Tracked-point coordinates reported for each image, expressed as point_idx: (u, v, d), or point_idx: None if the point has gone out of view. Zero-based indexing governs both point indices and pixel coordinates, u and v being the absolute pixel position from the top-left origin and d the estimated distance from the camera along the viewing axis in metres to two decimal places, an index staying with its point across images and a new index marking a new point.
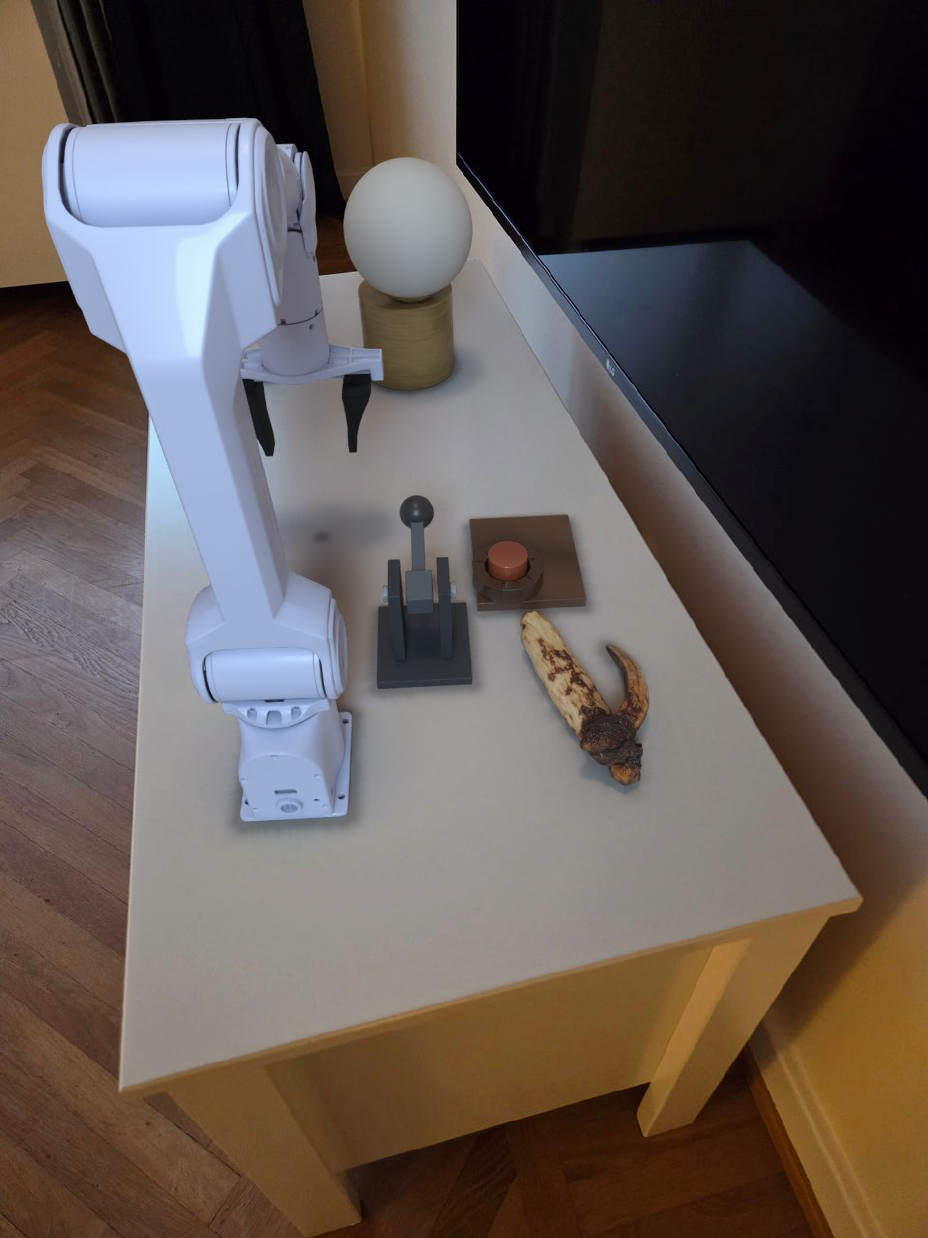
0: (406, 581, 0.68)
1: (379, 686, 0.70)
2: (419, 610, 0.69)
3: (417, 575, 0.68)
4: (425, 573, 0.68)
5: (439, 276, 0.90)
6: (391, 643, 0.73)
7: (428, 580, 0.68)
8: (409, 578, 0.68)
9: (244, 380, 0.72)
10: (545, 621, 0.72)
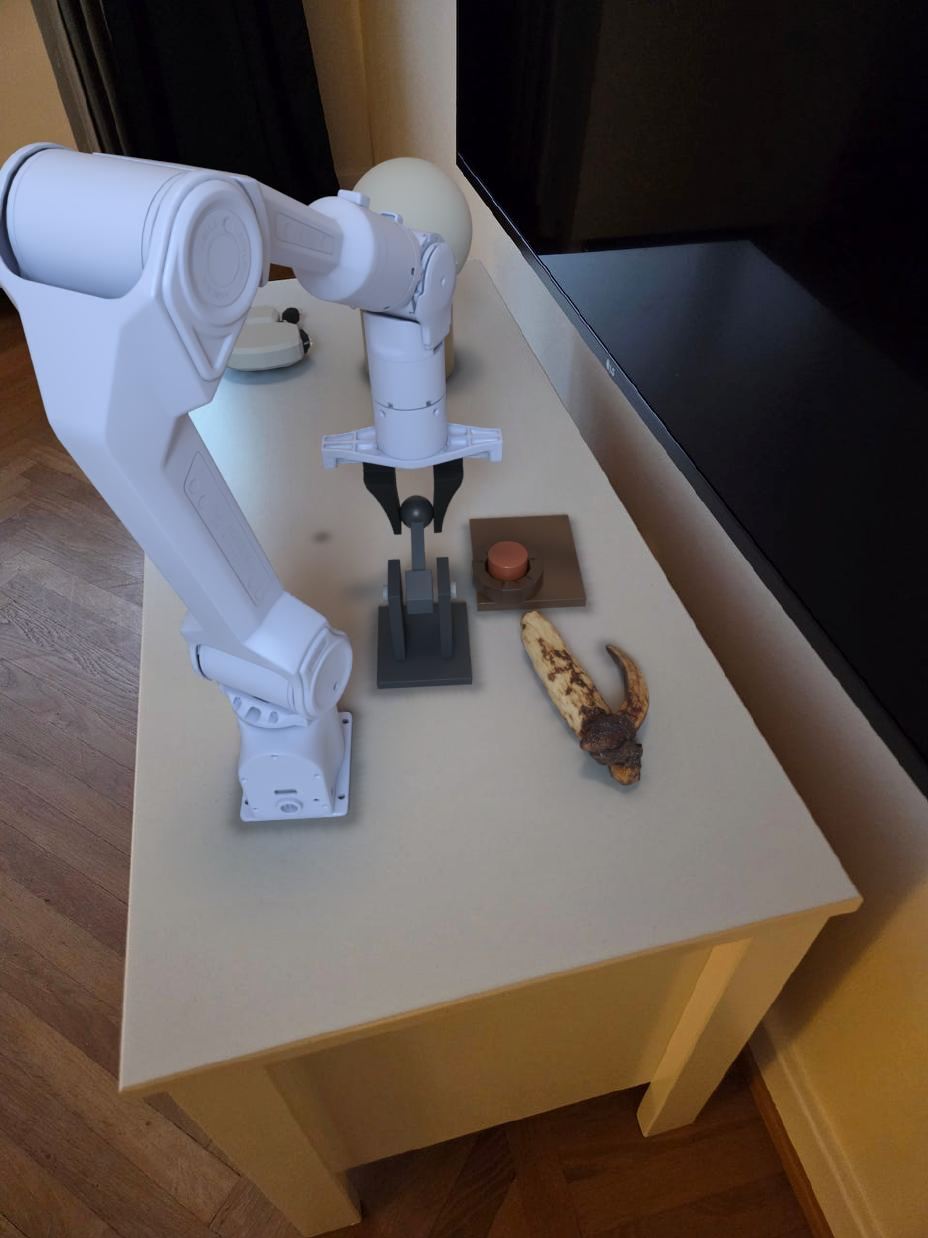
0: (406, 581, 0.68)
1: (379, 686, 0.70)
2: (419, 610, 0.69)
3: (417, 575, 0.68)
4: (425, 573, 0.68)
5: None
6: (391, 643, 0.73)
7: (428, 580, 0.68)
8: (409, 578, 0.68)
9: None
10: (545, 621, 0.72)
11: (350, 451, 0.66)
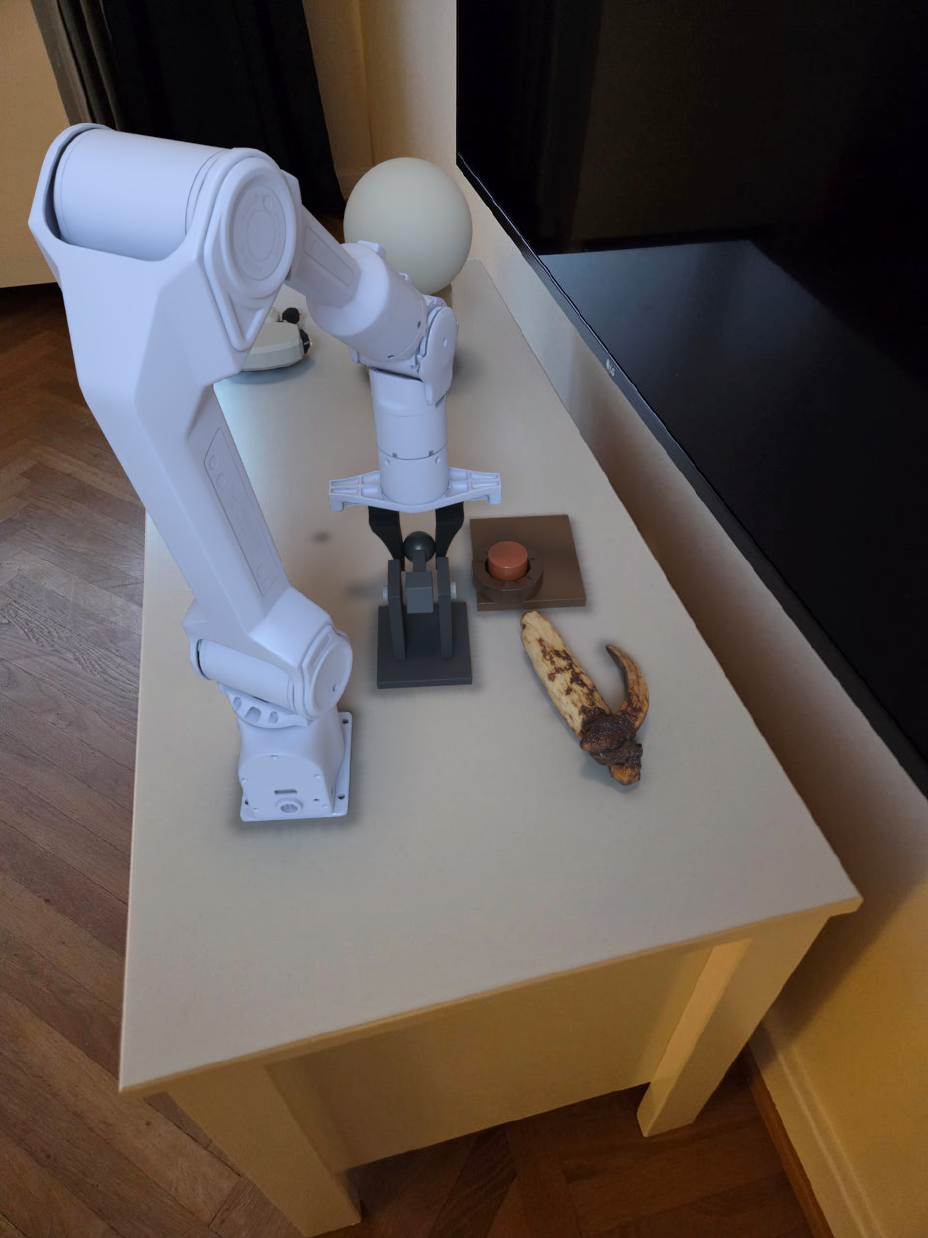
0: (406, 577, 0.69)
1: (379, 686, 0.70)
2: (419, 607, 0.68)
3: (417, 574, 0.69)
4: (425, 572, 0.69)
5: (439, 276, 0.90)
6: (391, 643, 0.73)
7: (428, 577, 0.69)
8: (409, 576, 0.69)
9: None
10: (545, 621, 0.72)
11: (356, 496, 0.69)
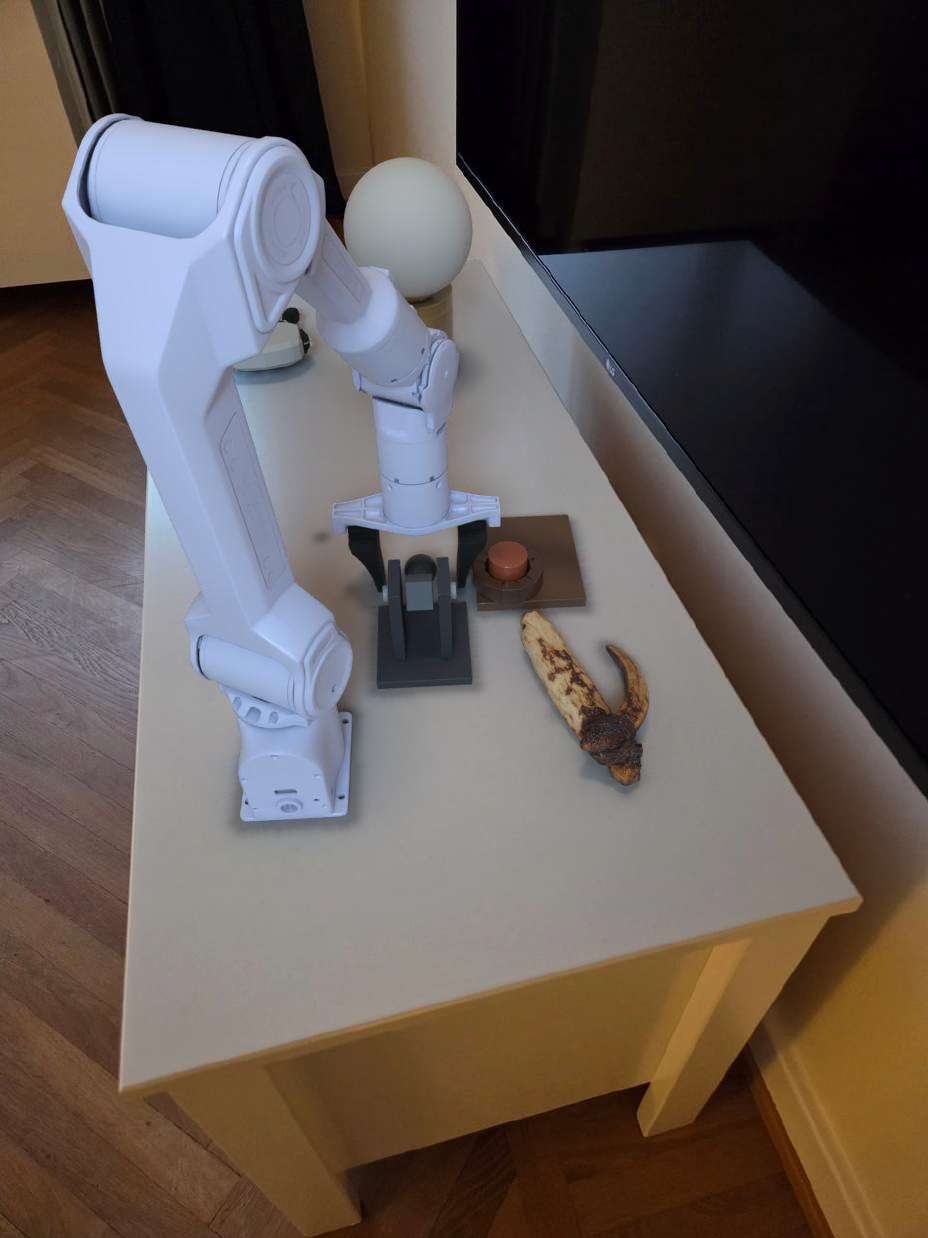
0: (406, 577, 0.69)
1: (379, 686, 0.70)
2: (418, 603, 0.68)
3: (417, 575, 0.69)
4: (425, 574, 0.70)
5: (439, 276, 0.90)
6: (391, 643, 0.73)
7: (428, 576, 0.69)
8: (409, 576, 0.69)
9: (365, 527, 0.73)
10: (545, 621, 0.72)
11: (359, 519, 0.71)
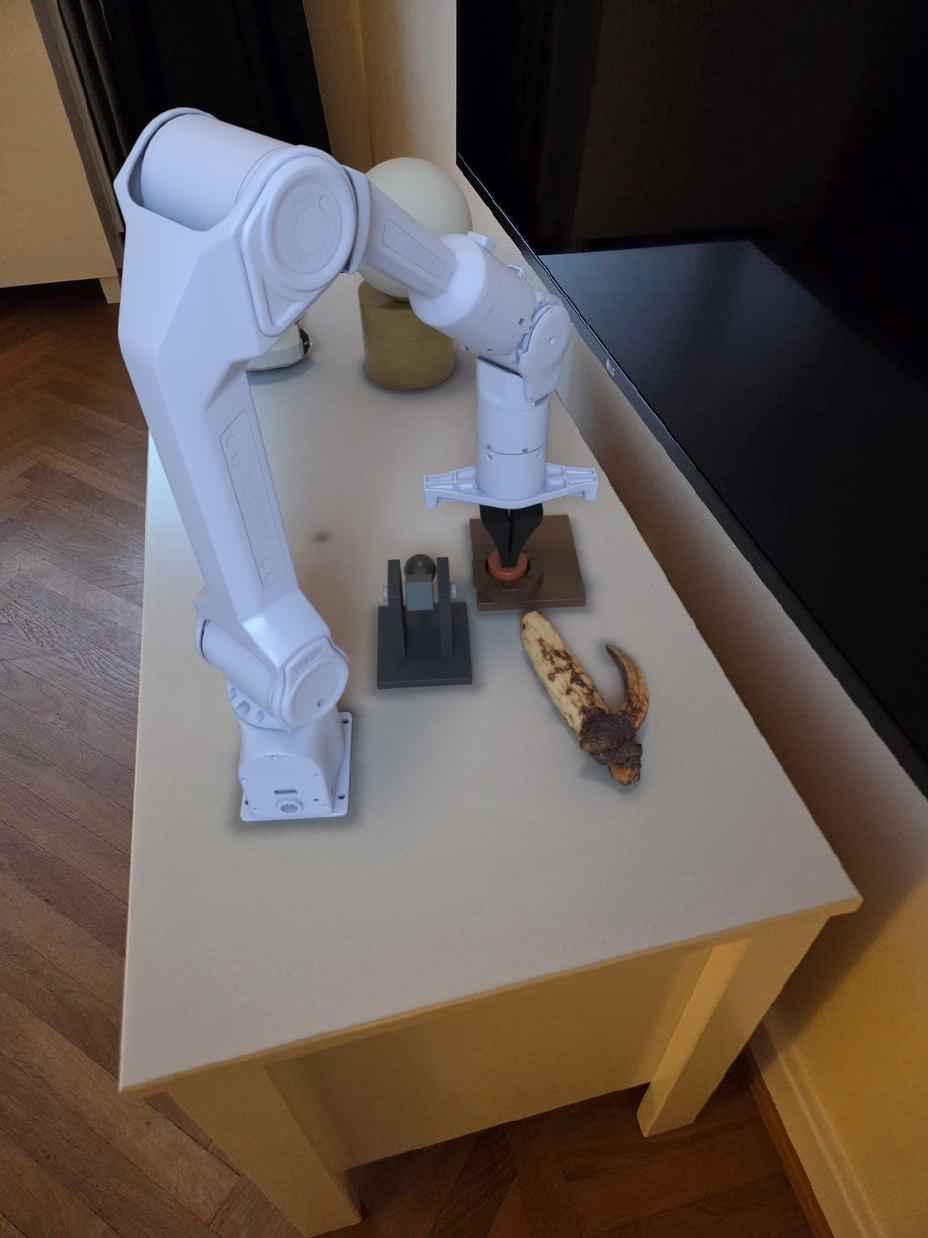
0: (406, 577, 0.69)
1: (379, 686, 0.70)
2: (418, 603, 0.68)
3: (417, 575, 0.69)
4: (425, 574, 0.70)
5: None
6: (391, 643, 0.73)
7: (428, 576, 0.69)
8: (409, 576, 0.69)
9: None
10: (545, 621, 0.72)
11: (452, 491, 0.69)
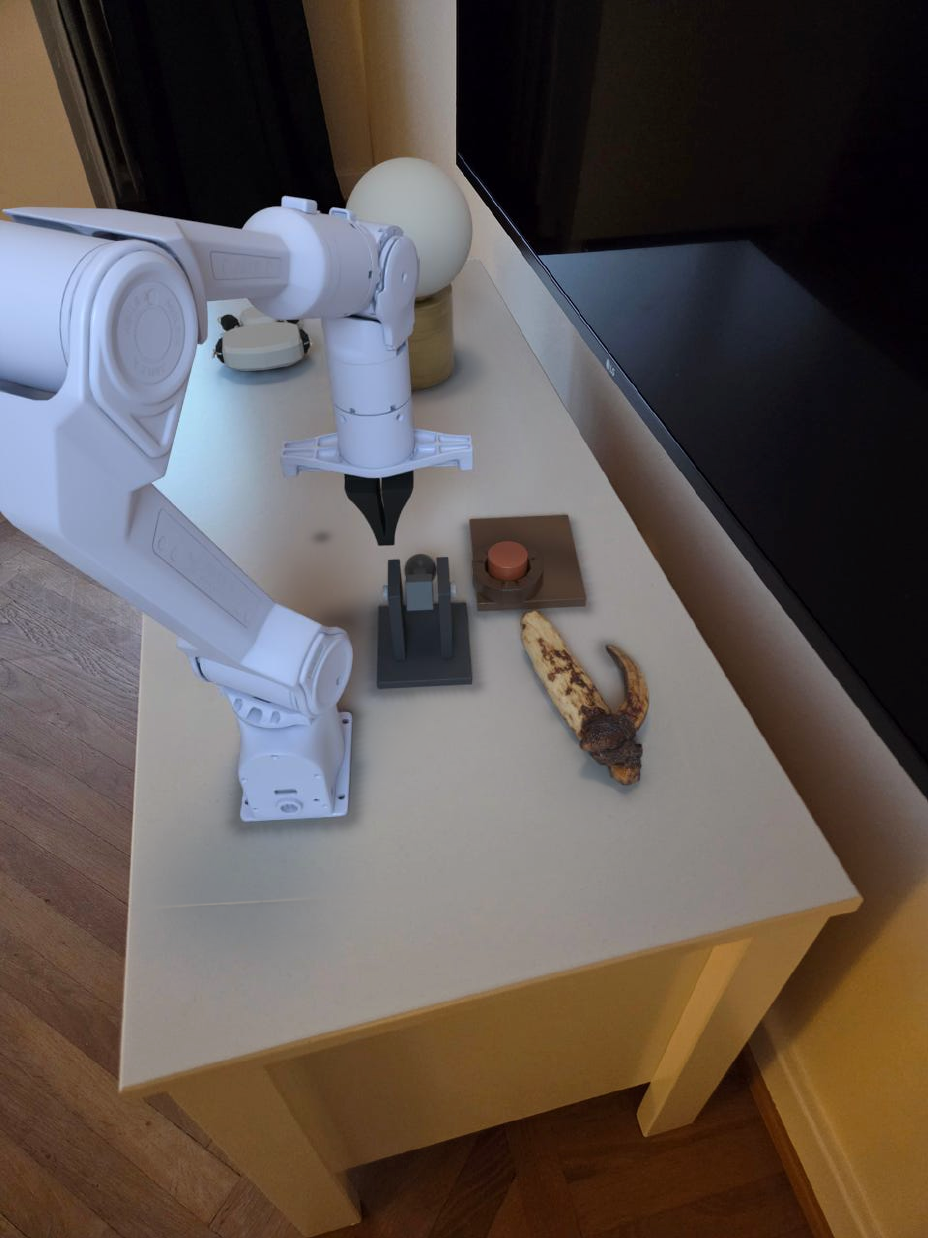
0: (406, 577, 0.69)
1: (379, 686, 0.70)
2: (418, 603, 0.68)
3: (417, 575, 0.69)
4: (425, 574, 0.70)
5: (439, 276, 0.90)
6: (391, 643, 0.73)
7: (428, 576, 0.69)
8: (409, 576, 0.69)
9: None
10: (545, 621, 0.72)
11: (311, 458, 0.62)
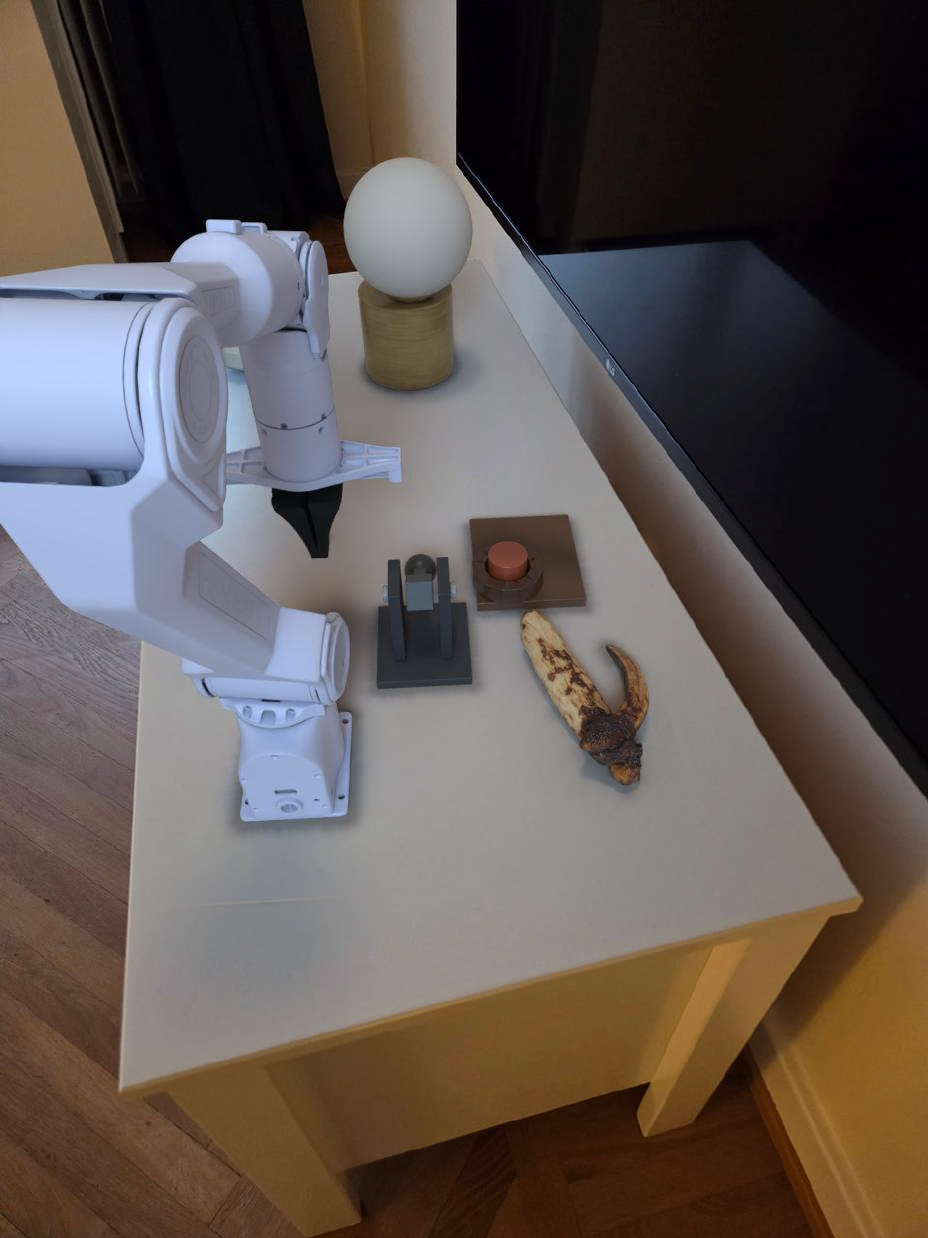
0: (406, 577, 0.69)
1: (379, 686, 0.70)
2: (418, 603, 0.68)
3: (417, 575, 0.69)
4: (425, 574, 0.70)
5: (439, 276, 0.90)
6: (391, 643, 0.73)
7: (428, 576, 0.69)
8: (409, 576, 0.69)
9: None
10: (545, 621, 0.72)
11: (235, 472, 0.61)
